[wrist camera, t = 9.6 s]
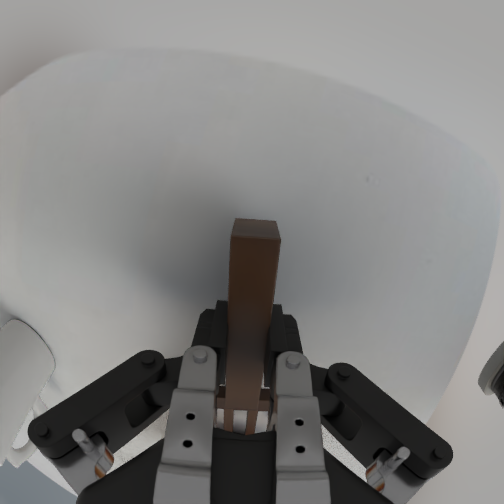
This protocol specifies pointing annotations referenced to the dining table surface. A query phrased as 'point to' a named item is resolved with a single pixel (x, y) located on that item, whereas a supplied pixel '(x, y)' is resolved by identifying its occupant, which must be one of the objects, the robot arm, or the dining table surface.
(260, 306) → the fork
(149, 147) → the dining table surface
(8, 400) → the mug
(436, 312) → the dining table surface
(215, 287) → the dining table surface
